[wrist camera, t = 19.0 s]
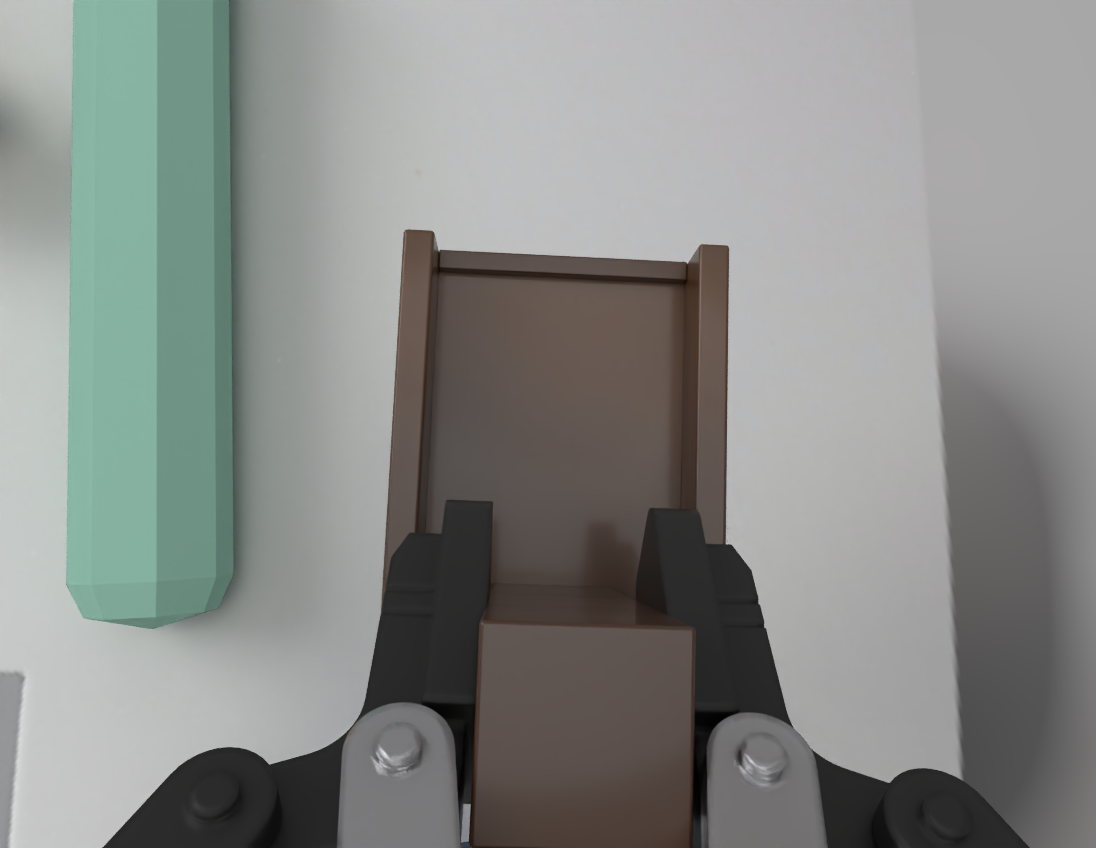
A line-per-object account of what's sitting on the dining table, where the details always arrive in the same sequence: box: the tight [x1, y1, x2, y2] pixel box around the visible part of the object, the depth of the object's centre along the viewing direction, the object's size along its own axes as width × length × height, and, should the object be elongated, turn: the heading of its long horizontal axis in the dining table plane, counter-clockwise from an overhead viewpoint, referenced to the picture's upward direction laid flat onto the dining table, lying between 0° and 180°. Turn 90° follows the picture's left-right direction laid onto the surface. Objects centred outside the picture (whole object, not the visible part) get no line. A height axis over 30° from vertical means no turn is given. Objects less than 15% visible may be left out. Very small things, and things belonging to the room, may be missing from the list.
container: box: [66, 0, 234, 629], centre depth 31 cm, size 6×6×25 cm
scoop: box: [381, 230, 729, 848], centre depth 15 cm, size 10×6×9 cm
